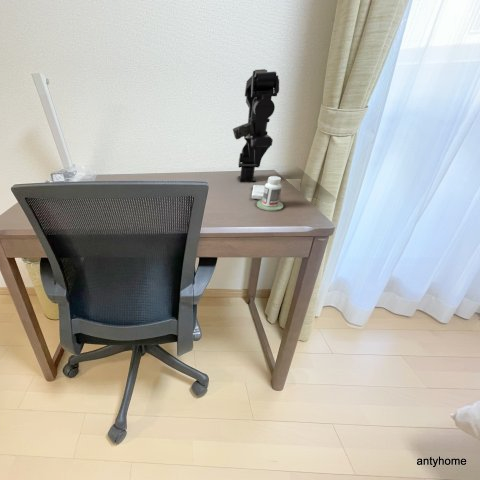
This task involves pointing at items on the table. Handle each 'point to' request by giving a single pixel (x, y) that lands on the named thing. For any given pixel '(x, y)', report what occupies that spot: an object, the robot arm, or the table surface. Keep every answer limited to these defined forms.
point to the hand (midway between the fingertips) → (253, 160)
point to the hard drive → (258, 192)
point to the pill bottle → (272, 191)
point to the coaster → (270, 207)
